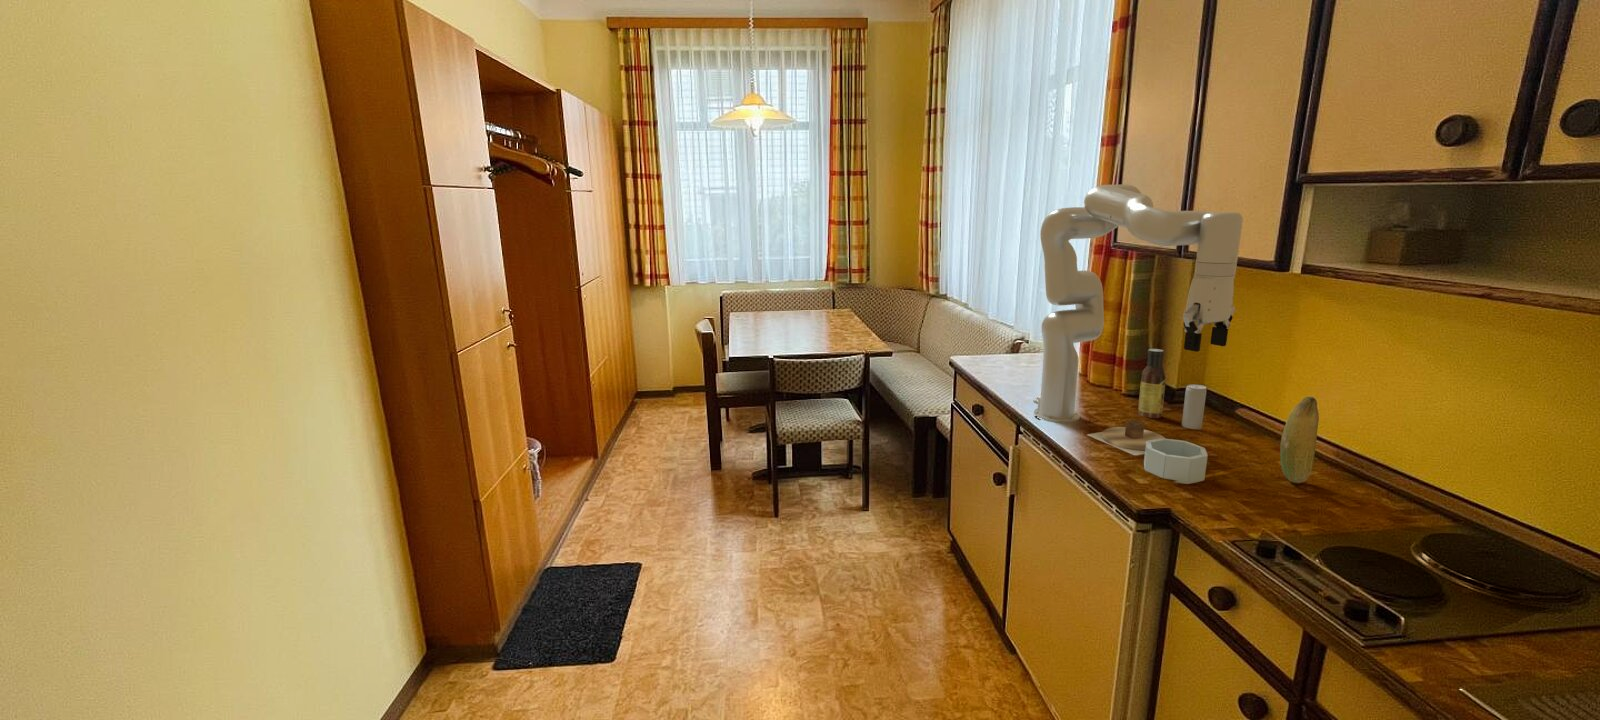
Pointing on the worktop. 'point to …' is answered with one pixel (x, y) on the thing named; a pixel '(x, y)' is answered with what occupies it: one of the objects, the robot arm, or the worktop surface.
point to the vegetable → (1299, 441)
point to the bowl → (1175, 460)
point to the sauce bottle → (1152, 386)
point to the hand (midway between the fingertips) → (1204, 347)
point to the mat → (1099, 437)
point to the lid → (1130, 436)
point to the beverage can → (1194, 406)
